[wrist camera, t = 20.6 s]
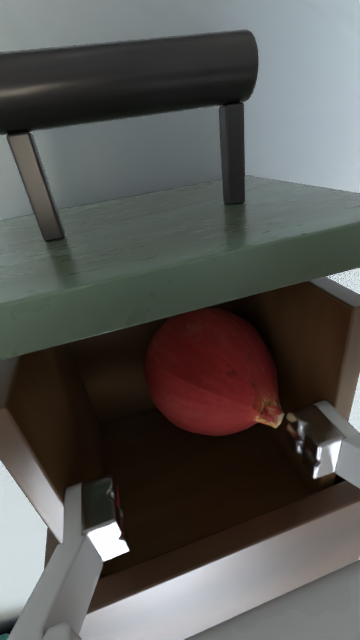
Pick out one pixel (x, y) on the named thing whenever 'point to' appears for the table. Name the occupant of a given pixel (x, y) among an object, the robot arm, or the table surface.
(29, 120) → the drawer
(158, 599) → the cabinet
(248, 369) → the onion
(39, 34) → the table surface
